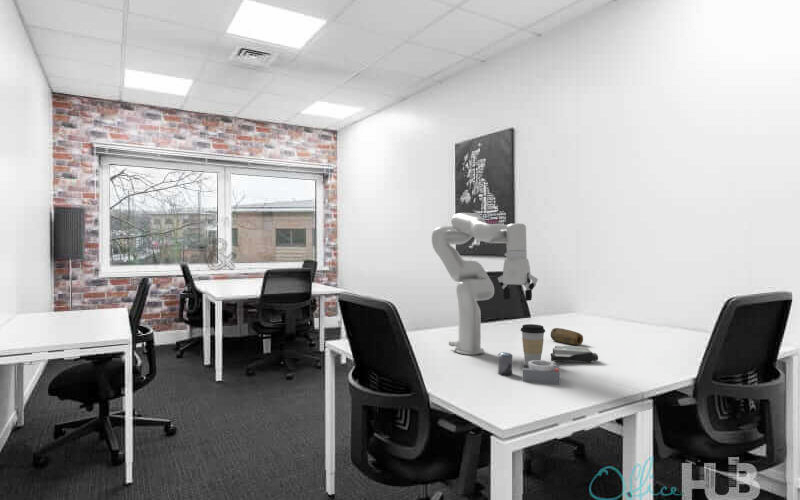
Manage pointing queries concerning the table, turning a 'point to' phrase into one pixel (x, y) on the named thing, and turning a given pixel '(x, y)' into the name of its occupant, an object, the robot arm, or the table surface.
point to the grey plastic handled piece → (573, 354)
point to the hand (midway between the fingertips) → (517, 299)
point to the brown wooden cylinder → (566, 336)
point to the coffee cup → (532, 341)
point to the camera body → (541, 372)
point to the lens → (505, 364)
